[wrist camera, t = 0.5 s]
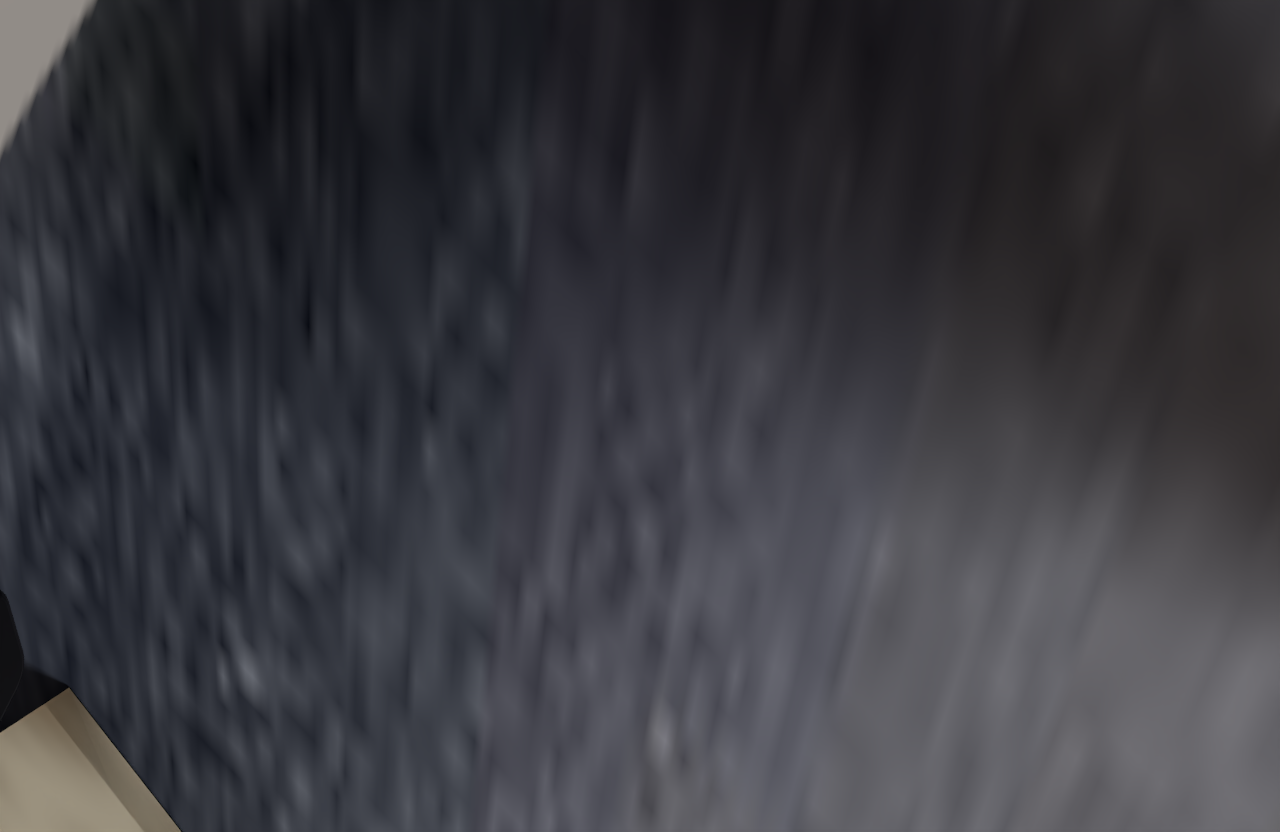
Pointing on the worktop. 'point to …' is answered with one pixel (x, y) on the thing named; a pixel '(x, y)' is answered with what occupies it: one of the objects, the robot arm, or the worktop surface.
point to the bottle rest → (70, 777)
